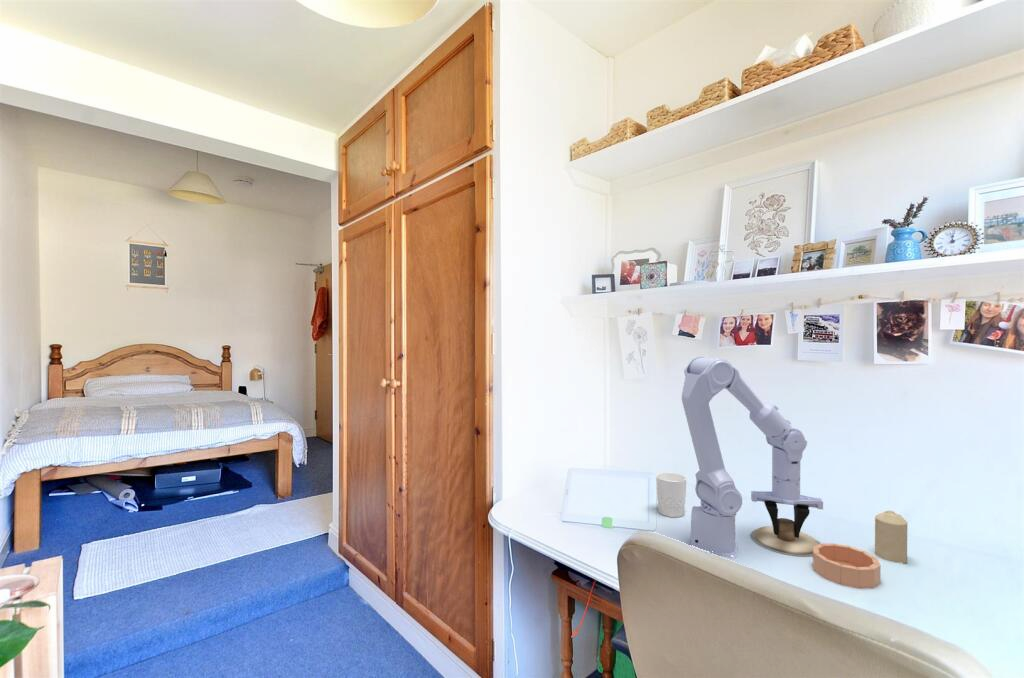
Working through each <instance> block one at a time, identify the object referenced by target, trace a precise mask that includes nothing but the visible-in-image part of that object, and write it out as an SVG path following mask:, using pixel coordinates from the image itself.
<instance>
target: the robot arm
mask: <svg viewBox="0 0 1024 678" xmlns="http://www.w3.org/2000/svg"><path fill="white" fill-rule="evenodd" d="M683 373H684V376H685V378H684V382H683V387H682V391H681V402H682V407H683V409H684V413H685V414H684V415H685V418H686V422H687V426H688V430H689V434H690V436H691V442H692V446H693V449H694V453H695V457H696V461H697V465H698V469H699V470H698V471H697V472H696V473H695V480H696V484H695V486H694V487H695V489H694V490H695V494H696V496H697V498H698V499H699V500H700V506H699V505H698V506H696V505H693V506H692V508H691V514H690V516H691V517H690V546H691V545H693V546H695V547H698V548H700V549H703V550H706V551H709V552H712V551H713V552H712V553H714V554H713V555H718V556H723V557H727V556H728V558H731V557H730V556H731V555H733V556H734V557H736V555H737V554H738V545H739V543H738V542H737V541H736V516H737V513H738V512H739V511H740V509H741V508H742V505H743V496H742V493H740V491H739V490H738V489H737V487H736V484H735V482H734V479H733V478H732V476H731V475H730V474H729V472H728V471H727V470H726V468H725V464H724V459H723V457H722V452H721V448H720V444H719V440H718V436H717V432H716V427H715V424H714V420H713V416H712V415H713V414H712V412H711V408H710V402H711V401H712V399H713V398H714V397H715V396H717V395H718V394H719V393H720V392H721V391H723V390H727V391H728V392H729V393H730V394H731V395H732V396H733V397H734V398H735V399H736V400H737V401H738V402H739V403H741V404H742V405H743V406H744V407H745V408H746V409H747V410H748V411H749V420H750V421H751V422H752V423H753V424H754V425H755V426H756V427H757V428H758V429H759V430H760V431H761V432H762V433H763V434H764V435H765V440H766V442H767V444H768V445H769V446H771V450H772V451H771V453H772V454H771V455H772V459H771V460H772V461H771V470H772V472H771V490H769V491H764V490H763V491H762V490H761V491H759V490H757V491H756V490H751V491H750V500H751V501H752V502H754V503H755V502H756V503H757V502H763V503H764V505H765V509H766V510H767V513H768V514H769V517H770V520H771V524H772V525H771V526H773V532H774V534H775V535H778V524H777V519H778V514H779V508H778V504H781V505H790V506H793V515H794V516H793V517H794V520H793V521H794V522H795V538H799V533H800V532H801V529H802V527H803V524H804V523H805V521H806V519H808V516H809V515H810V511H811V510H810V508H814V509H818V510H821V511H822V510H824V500H823V499H822V498H820V497H813V496H807V495H803V494H801V461H802V459H803V453H804V451H805V449H806V447H807V445H808V440H806V439H805V436H804V433H802V431H801V430H799V429H797V428H794V427H792V425H791V424H792V423H791V421H790V420H789V419H786V418H785V417H784V416H783V415H782V414H781V413H780V412H779V411H778V410H779V407H778V406H777V405H775V404H772V403H769V402H763V401H762V400H761V399H760V397H758V395H757V394H756V393H755V392H754V391H753V389H751V387H750V386H749V385H748V383H747V382H746V381H745V380H744V379H743V377H742V376H741V374H740V372H739V370H738V369H737V368H736V367H733V365H732V363H731V362H729V361H728V360H727V359H724V358H710V357H705V356H696V357H694V358H692V359H691V360H690V361H689V362H688V364H687V365H686V367H685V368H684V369H683ZM712 553H711V554H712ZM724 555H725V556H724ZM736 558H737V557H736Z"/></svg>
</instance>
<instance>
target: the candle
mask: <svg viewBox="0 0 1024 678" xmlns="http://www.w3.org/2000/svg"><path fill="white" fill-rule="evenodd" d="M874 517H875V518H874V554H875V555H876V557H878V558H880V559H883V560H885V561H888V562H893V563H900V564H904V565H905V564H906V563H907V562H908V521H907V520H906V519H905V518H904V517H903V516H902V515H901V514H897V512H894V511H893V510H885V511H883V512H881V513H878V514H876V515H875V516H874Z"/></svg>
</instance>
